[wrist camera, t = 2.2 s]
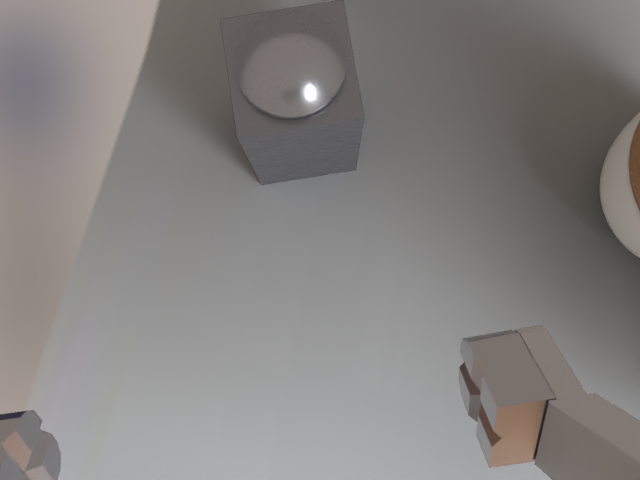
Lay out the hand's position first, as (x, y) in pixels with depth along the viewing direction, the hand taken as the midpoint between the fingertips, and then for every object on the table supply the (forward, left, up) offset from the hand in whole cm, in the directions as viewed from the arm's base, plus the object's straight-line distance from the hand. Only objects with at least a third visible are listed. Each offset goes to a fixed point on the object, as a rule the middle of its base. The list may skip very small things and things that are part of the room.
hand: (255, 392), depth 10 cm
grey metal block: (-2, -13, -23) cm, 26 cm away
